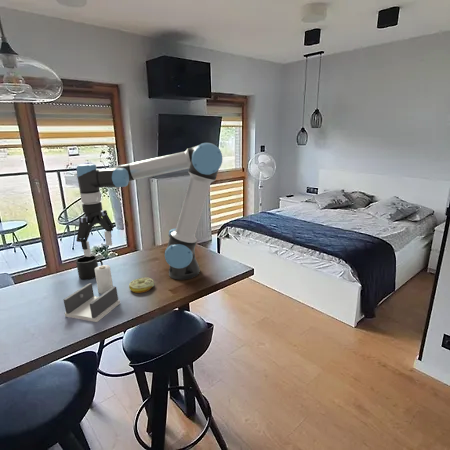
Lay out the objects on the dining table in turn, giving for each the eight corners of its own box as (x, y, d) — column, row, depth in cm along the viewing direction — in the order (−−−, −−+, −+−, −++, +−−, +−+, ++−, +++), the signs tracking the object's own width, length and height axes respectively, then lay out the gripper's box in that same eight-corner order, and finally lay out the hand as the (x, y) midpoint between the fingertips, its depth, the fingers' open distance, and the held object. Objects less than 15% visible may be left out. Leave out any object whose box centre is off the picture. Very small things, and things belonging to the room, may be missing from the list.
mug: (107, 274, 158) (104, 257, 156) (82, 281, 151) (78, 264, 148) (101, 268, 165) (98, 252, 163) (76, 275, 158) (73, 258, 156)
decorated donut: (158, 287, 143) (158, 280, 142) (138, 296, 135) (137, 288, 134) (145, 281, 149) (144, 273, 148) (125, 289, 142) (124, 281, 141)
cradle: (120, 303, 130) (117, 286, 128) (97, 322, 117) (93, 304, 115) (90, 298, 135) (87, 282, 133) (65, 316, 122) (61, 299, 120)
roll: (116, 288, 143) (112, 265, 140) (107, 294, 138) (103, 271, 134) (104, 286, 145) (101, 263, 142) (95, 293, 140) (91, 269, 136)
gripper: (104, 196, 143) (110, 240, 149) (60, 208, 120) (70, 260, 126) (118, 196, 140) (123, 241, 146) (76, 209, 118) (85, 262, 124)
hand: (99, 250), depth 136 cm, fingers open, 13 cm apart
